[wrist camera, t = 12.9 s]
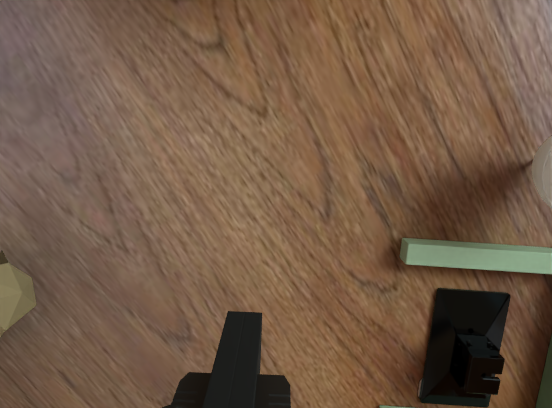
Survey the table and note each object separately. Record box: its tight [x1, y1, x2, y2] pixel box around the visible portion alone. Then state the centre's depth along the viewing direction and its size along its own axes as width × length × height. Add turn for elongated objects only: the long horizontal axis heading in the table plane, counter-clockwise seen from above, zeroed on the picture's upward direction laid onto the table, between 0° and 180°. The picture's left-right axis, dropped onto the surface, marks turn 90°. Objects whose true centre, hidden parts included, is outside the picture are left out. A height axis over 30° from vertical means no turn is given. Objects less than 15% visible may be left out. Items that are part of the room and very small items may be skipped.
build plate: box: [418, 288, 510, 407], centre depth 39 cm, size 12×7×5 cm, turn 176°
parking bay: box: [379, 238, 552, 408], centre depth 40 cm, size 20×18×2 cm
